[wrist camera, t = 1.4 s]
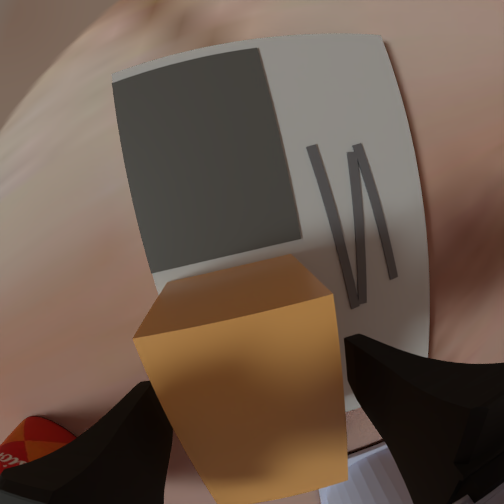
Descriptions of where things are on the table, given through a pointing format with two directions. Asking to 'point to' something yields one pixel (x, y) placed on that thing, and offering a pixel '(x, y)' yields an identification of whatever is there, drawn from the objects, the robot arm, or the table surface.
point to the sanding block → (251, 378)
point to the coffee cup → (32, 441)
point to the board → (283, 173)
